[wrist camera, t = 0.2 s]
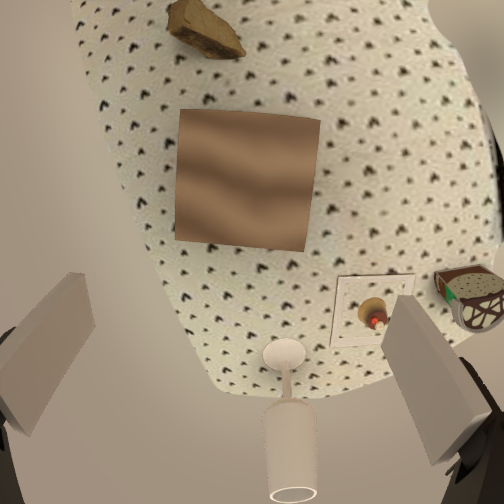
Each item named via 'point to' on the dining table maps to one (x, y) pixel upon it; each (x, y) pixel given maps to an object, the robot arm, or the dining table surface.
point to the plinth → (245, 178)
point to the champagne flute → (289, 431)
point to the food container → (473, 296)
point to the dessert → (366, 309)
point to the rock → (203, 30)
